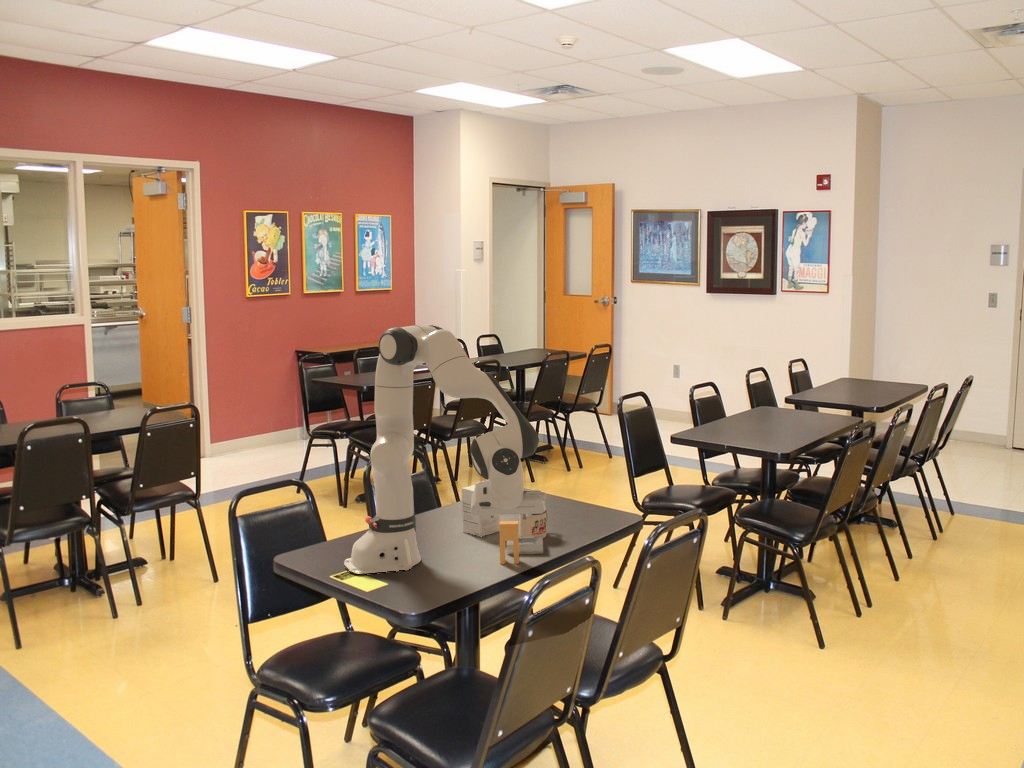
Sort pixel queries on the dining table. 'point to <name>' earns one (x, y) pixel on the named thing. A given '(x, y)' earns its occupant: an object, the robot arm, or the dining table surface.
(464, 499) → the supplement box
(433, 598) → the dining table surface
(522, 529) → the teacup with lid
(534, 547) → the rectangular frame block
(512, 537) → the orange notched arch block
